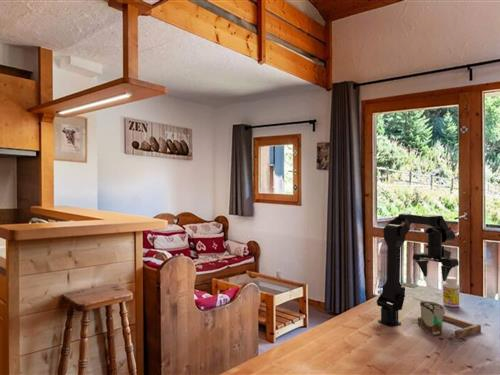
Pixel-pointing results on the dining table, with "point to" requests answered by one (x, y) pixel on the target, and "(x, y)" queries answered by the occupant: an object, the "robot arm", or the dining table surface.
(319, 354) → the dining table surface
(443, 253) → the robot arm
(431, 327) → the food container
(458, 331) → the bay
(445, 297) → the supplement bottle
